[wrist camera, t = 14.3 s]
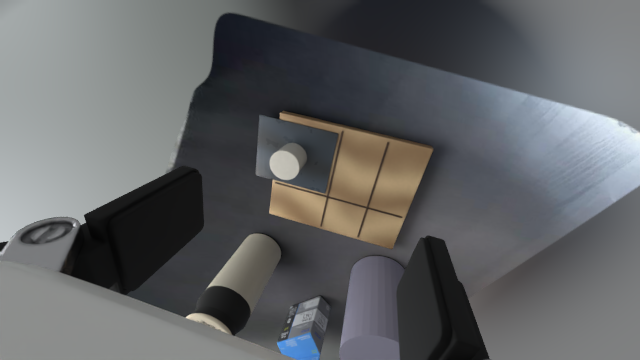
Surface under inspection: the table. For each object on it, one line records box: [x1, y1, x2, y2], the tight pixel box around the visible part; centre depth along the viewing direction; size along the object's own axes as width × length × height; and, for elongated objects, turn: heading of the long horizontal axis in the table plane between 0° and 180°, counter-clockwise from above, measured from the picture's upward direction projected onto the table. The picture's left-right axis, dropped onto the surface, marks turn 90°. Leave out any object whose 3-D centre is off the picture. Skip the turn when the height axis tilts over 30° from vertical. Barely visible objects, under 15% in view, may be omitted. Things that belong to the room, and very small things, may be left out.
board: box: [256, 111, 433, 249], centre depth 39 cm, size 18×25×2 cm
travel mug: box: [186, 234, 281, 336], centre depth 42 cm, size 8×8×18 cm
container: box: [339, 256, 405, 360], centre depth 39 cm, size 10×10×15 cm
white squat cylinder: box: [270, 143, 307, 180], centre depth 36 cm, size 4×4×4 cm
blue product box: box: [277, 296, 331, 360], centre depth 48 cm, size 9×4×12 cm, turn 129°
